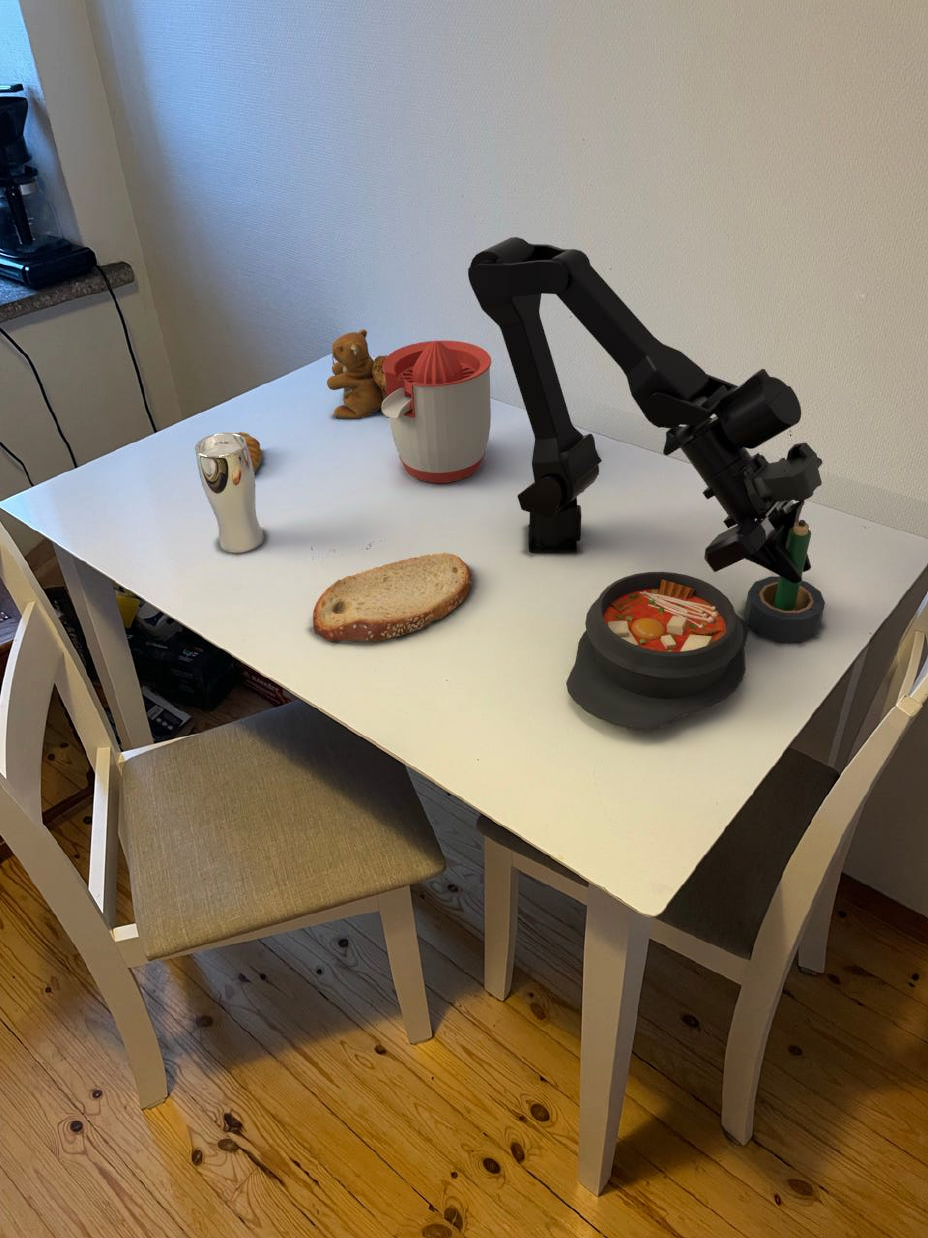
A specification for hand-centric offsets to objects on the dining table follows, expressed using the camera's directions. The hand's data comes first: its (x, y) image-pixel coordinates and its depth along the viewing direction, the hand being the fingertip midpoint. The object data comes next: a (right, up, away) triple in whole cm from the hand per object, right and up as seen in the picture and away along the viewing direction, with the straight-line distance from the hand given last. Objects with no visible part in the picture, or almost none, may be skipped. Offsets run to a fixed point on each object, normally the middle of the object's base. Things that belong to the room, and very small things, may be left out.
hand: (803, 576), depth 109 cm
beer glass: (-70, +6, +24) cm, 74 cm away
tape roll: (-1, -5, +5) cm, 7 cm away
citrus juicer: (-43, +18, +38) cm, 60 cm away
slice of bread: (-47, -3, +11) cm, 49 cm away
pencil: (-1, -5, +5) cm, 7 cm away
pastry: (-73, +19, +41) cm, 86 cm away
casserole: (-17, -11, -1) cm, 20 cm away
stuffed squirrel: (-54, +31, +55) cm, 83 cm away
